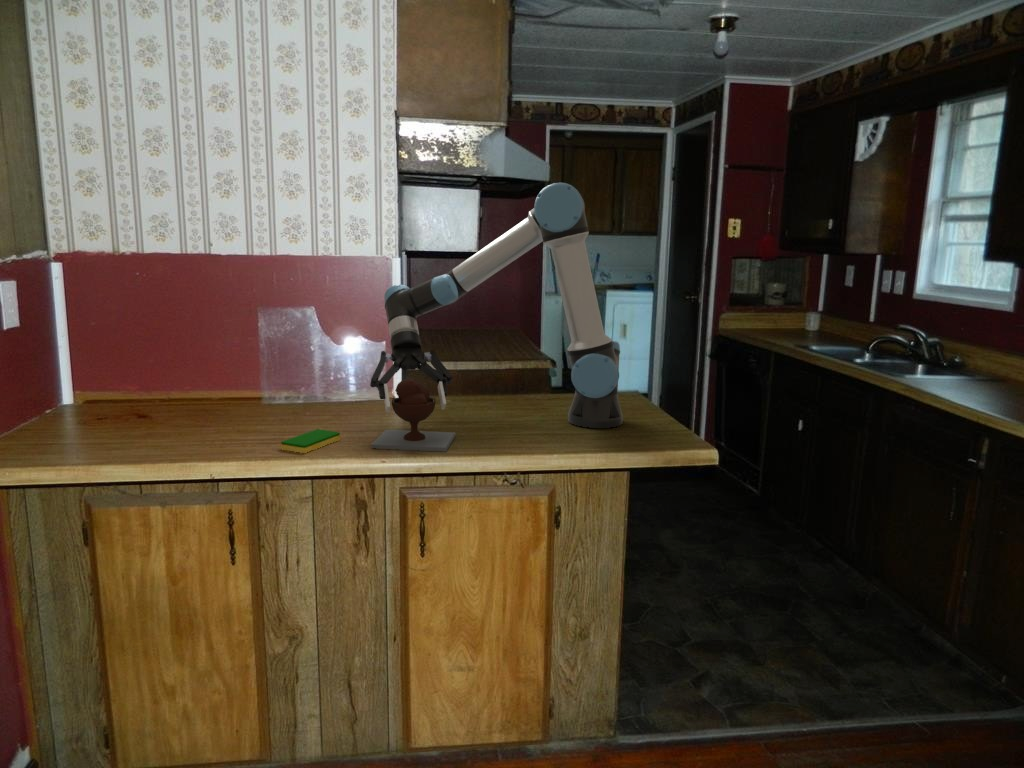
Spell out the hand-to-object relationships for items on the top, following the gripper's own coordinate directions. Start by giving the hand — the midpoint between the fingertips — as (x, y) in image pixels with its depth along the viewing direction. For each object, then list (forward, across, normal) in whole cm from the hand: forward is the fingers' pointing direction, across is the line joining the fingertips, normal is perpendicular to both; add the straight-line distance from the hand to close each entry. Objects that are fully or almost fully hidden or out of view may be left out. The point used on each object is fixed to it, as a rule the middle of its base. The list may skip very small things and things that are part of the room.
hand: (416, 408), depth 180 cm
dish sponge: (+3, +24, -11) cm, 27 cm away
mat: (+5, 0, -8) cm, 9 cm away
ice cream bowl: (+4, 0, -8) cm, 9 cm away
